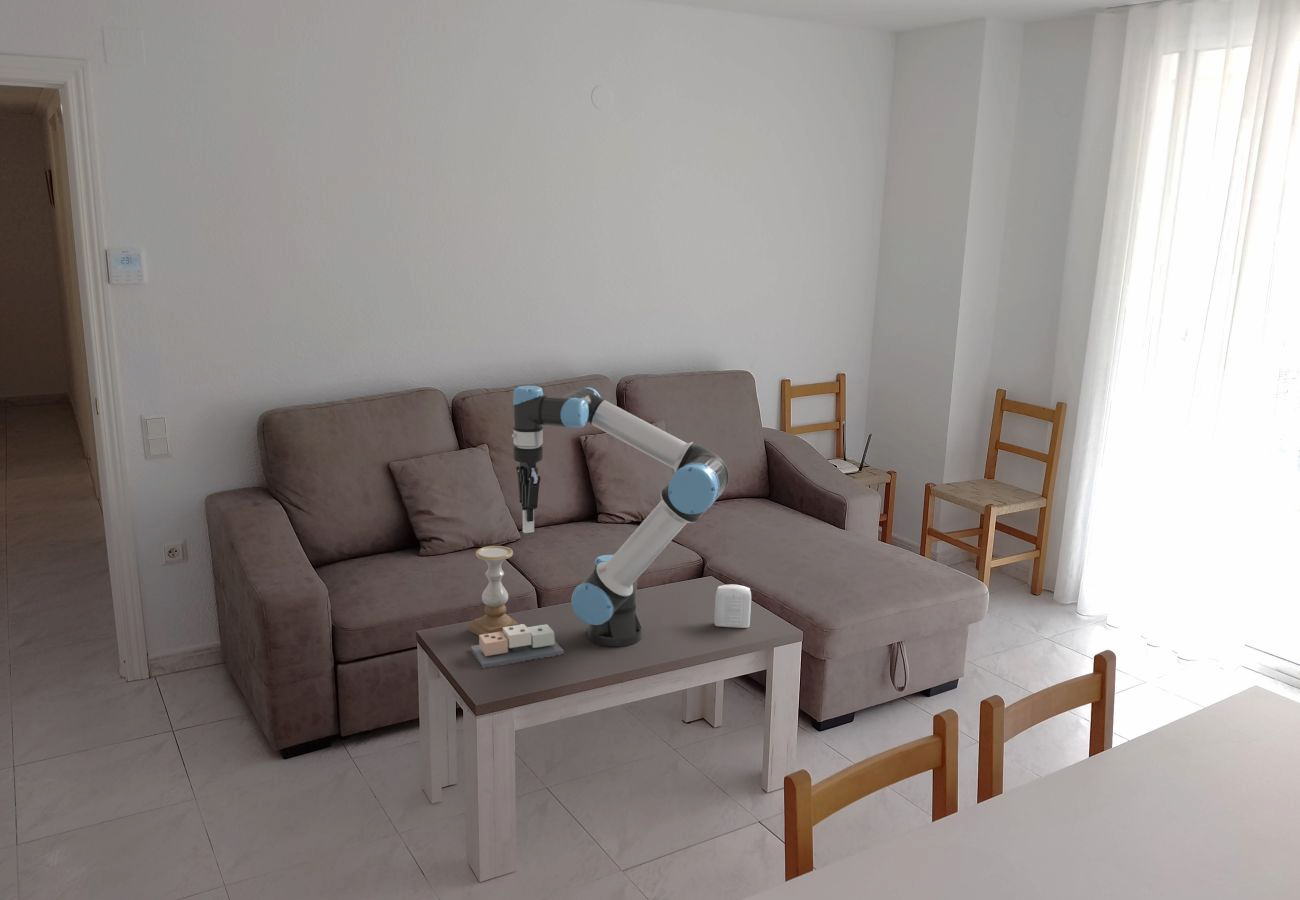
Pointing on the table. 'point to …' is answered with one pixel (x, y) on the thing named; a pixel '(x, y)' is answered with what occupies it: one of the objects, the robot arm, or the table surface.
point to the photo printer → (732, 606)
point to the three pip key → (493, 643)
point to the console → (516, 654)
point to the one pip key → (541, 636)
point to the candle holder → (493, 593)
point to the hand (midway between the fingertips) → (528, 531)
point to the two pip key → (517, 635)
